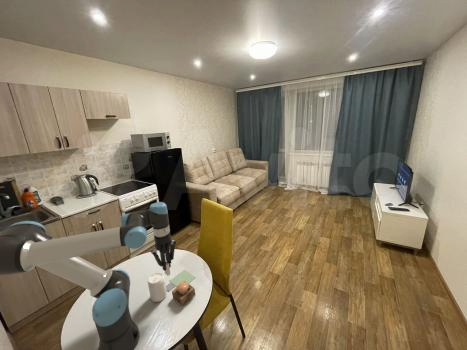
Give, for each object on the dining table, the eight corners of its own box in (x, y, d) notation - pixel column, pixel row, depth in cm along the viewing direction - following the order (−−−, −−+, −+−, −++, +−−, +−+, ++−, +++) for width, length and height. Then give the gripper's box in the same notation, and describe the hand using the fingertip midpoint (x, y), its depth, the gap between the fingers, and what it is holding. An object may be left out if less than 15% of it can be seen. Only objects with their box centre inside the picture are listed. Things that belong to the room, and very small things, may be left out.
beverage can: (169, 290, 108) (166, 272, 105) (162, 303, 100) (159, 284, 97) (155, 289, 109) (152, 272, 106) (148, 302, 101) (144, 283, 98)
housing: (182, 306, 98) (181, 299, 97) (172, 298, 103) (171, 291, 102) (195, 295, 104) (194, 288, 103) (185, 287, 109) (184, 281, 108)
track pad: (168, 291, 107) (168, 291, 107) (164, 287, 110) (164, 287, 110) (175, 286, 111) (175, 286, 110) (170, 282, 113) (170, 282, 113)
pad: (180, 290, 108) (180, 289, 108) (169, 281, 115) (169, 280, 114) (195, 277, 116) (195, 277, 116) (184, 269, 123) (184, 269, 123)
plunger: (183, 302, 99) (181, 293, 98) (176, 296, 103) (174, 287, 101) (192, 294, 104) (190, 285, 102) (185, 289, 108) (183, 280, 106)
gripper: (153, 242, 87) (159, 285, 93) (178, 230, 96) (182, 270, 102) (145, 236, 92) (152, 278, 98) (169, 225, 101) (174, 263, 107)
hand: (167, 273), depth 100 cm, fingers closed
